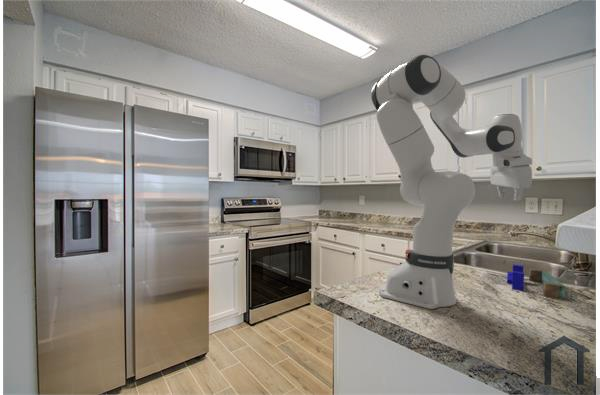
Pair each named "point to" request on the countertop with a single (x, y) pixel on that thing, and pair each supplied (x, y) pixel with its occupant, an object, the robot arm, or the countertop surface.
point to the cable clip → (516, 277)
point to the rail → (548, 283)
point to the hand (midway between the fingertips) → (509, 198)
